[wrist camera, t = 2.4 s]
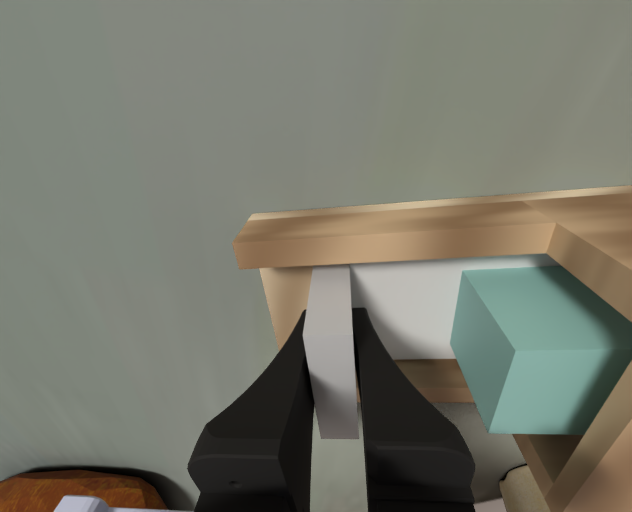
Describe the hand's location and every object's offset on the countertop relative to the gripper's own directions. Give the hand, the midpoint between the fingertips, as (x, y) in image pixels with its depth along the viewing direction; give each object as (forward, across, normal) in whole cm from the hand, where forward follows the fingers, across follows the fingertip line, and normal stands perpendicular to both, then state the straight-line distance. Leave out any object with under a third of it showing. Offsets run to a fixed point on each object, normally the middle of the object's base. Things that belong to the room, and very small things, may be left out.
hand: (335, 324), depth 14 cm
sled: (+2, -5, 0) cm, 5 cm away
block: (+1, -8, 0) cm, 8 cm away
